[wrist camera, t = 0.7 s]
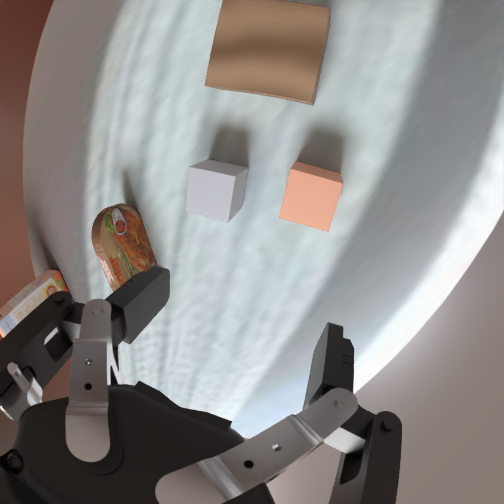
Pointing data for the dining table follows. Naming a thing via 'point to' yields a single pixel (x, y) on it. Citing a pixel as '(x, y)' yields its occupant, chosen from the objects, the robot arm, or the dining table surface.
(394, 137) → the dining table surface
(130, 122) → the dining table surface
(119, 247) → the tin
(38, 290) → the cracker box
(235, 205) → the grey-blue cube
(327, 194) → the terracotta cube
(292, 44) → the walnut block
